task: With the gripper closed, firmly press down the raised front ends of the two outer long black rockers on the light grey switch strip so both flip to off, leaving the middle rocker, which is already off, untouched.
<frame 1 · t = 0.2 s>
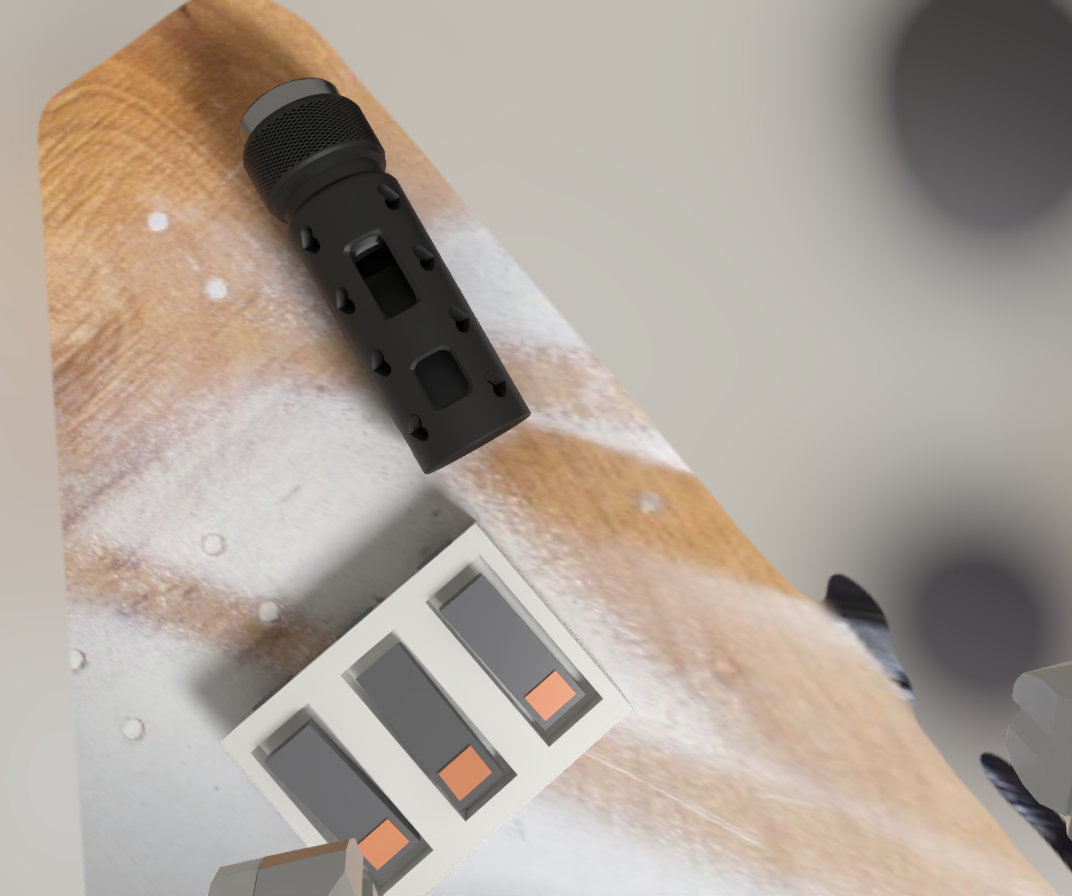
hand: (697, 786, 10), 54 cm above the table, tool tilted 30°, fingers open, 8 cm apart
switch strip: (433, 707, 62), on the table
rocker 1: (513, 651, 58), point 4 cm above the table, hinge at -8.0°
perforated black cylinder: (392, 297, 64), on the table
rocker 2: (344, 799, 57), point 4 cm above the table, hinge at -8.0°
middle rocker: (429, 724, 58), point 4 cm above the table, hinge at 8.0°
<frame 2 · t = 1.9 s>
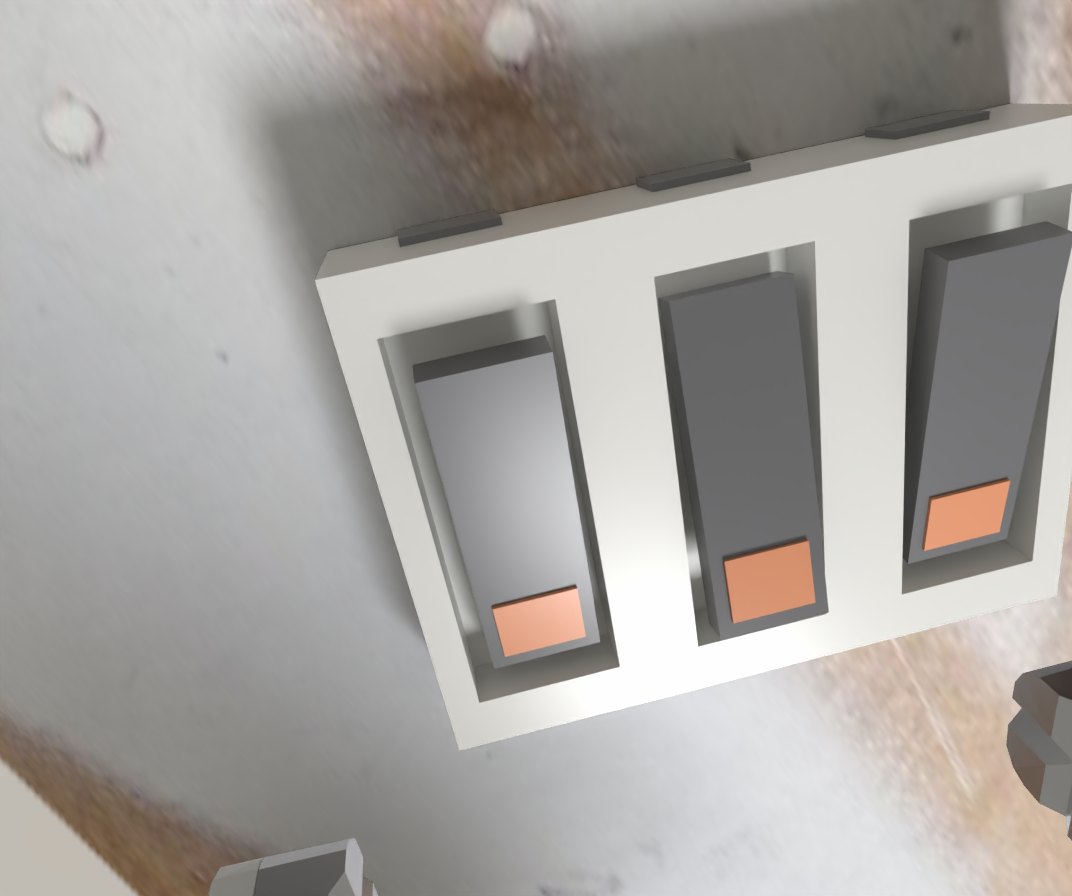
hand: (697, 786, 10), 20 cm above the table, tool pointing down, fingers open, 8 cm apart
switch strip: (703, 416, 31), on the table
rocker 1: (971, 410, 27), point 4 cm above the table, hinge at -8.0°
rocker 2: (517, 520, 26), point 4 cm above the table, hinge at -8.0°
middle rocker: (748, 463, 27), point 4 cm above the table, hinge at 8.0°
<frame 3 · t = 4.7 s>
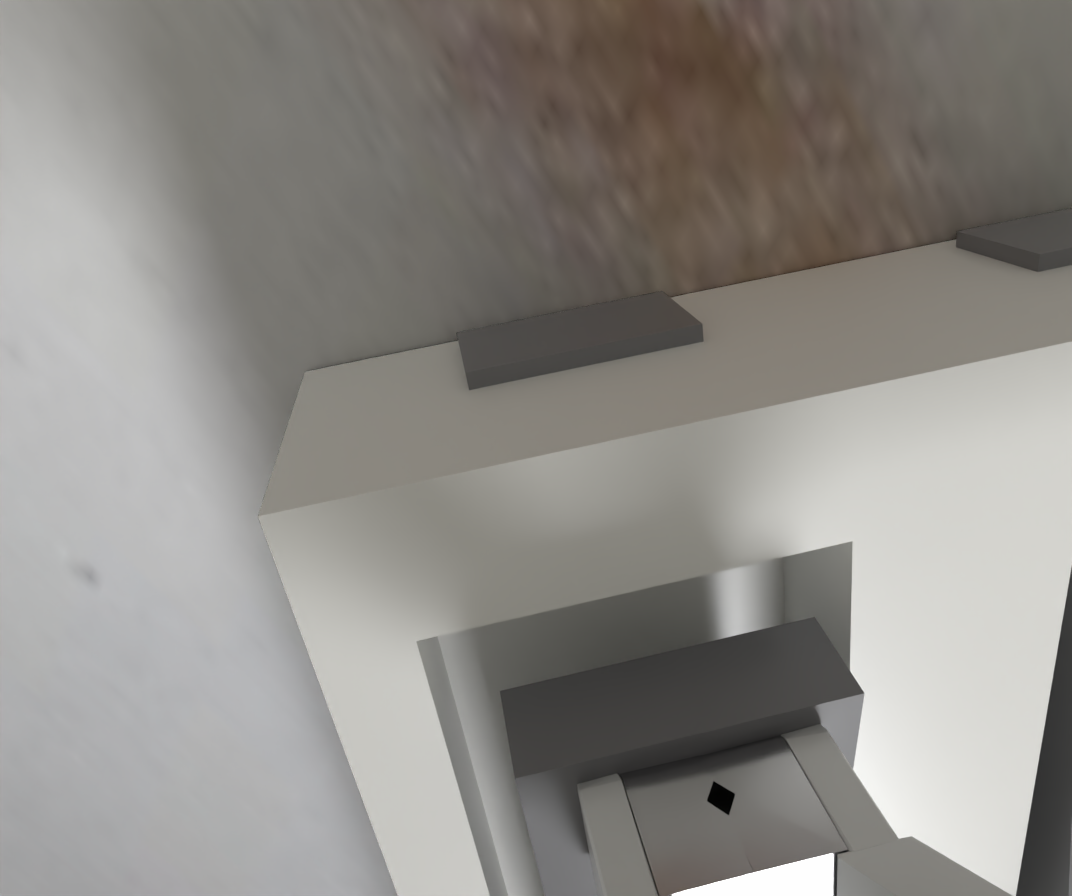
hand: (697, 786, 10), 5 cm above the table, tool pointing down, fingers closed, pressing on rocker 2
switch strip: (982, 647, 17), on the table
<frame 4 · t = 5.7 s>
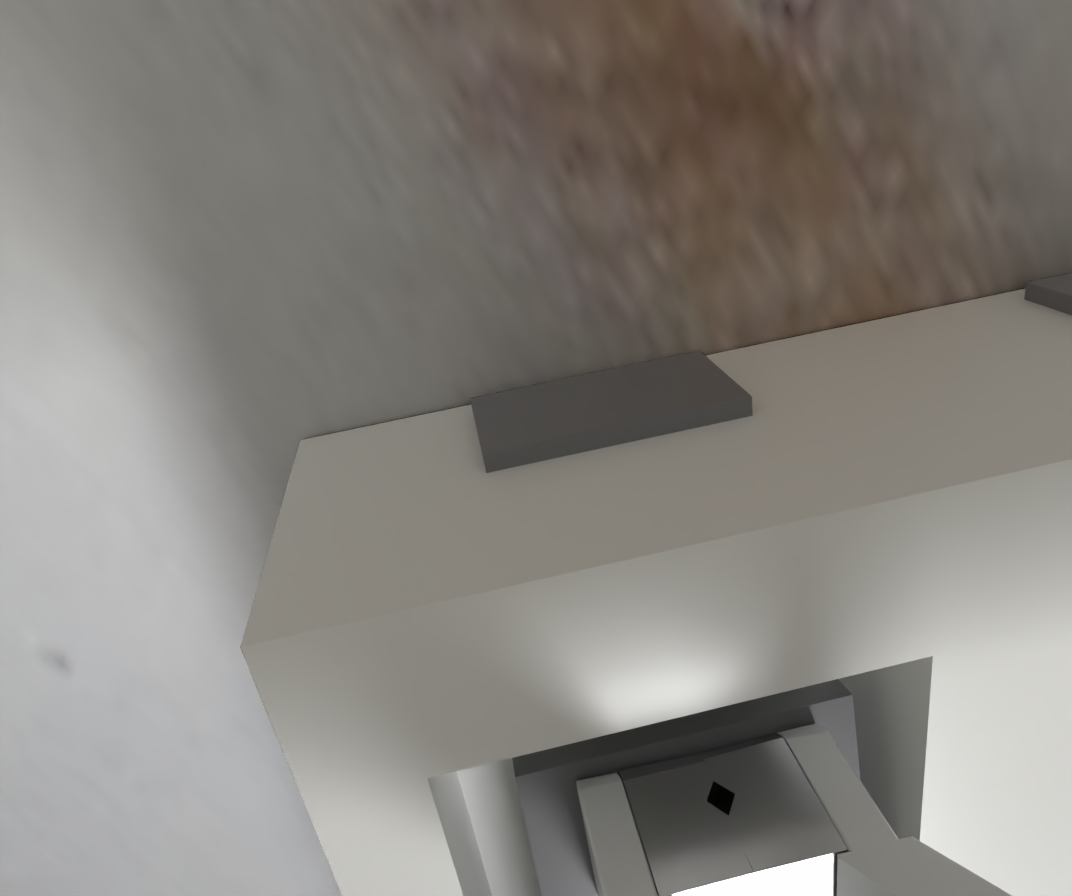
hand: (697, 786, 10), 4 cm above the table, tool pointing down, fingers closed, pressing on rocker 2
switch strip: (1037, 720, 16), on the table
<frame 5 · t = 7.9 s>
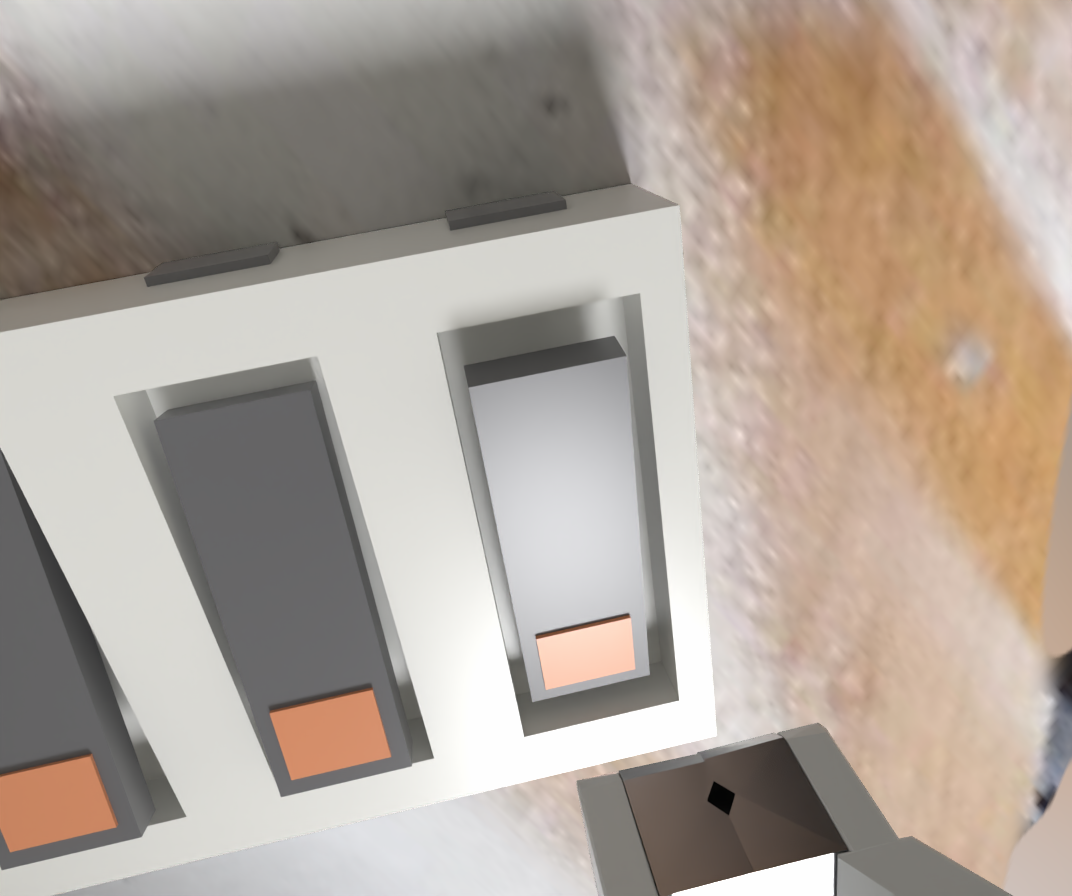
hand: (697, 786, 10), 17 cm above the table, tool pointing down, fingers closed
switch strip: (312, 524, 27), on the table
rocker 1: (569, 541, 23), point 4 cm above the table, hinge at -8.0°
rocker 2: (10, 662, 22), point 4 cm above the table, hinge at 11.5°
middle rocker: (297, 600, 23), point 4 cm above the table, hinge at 8.0°
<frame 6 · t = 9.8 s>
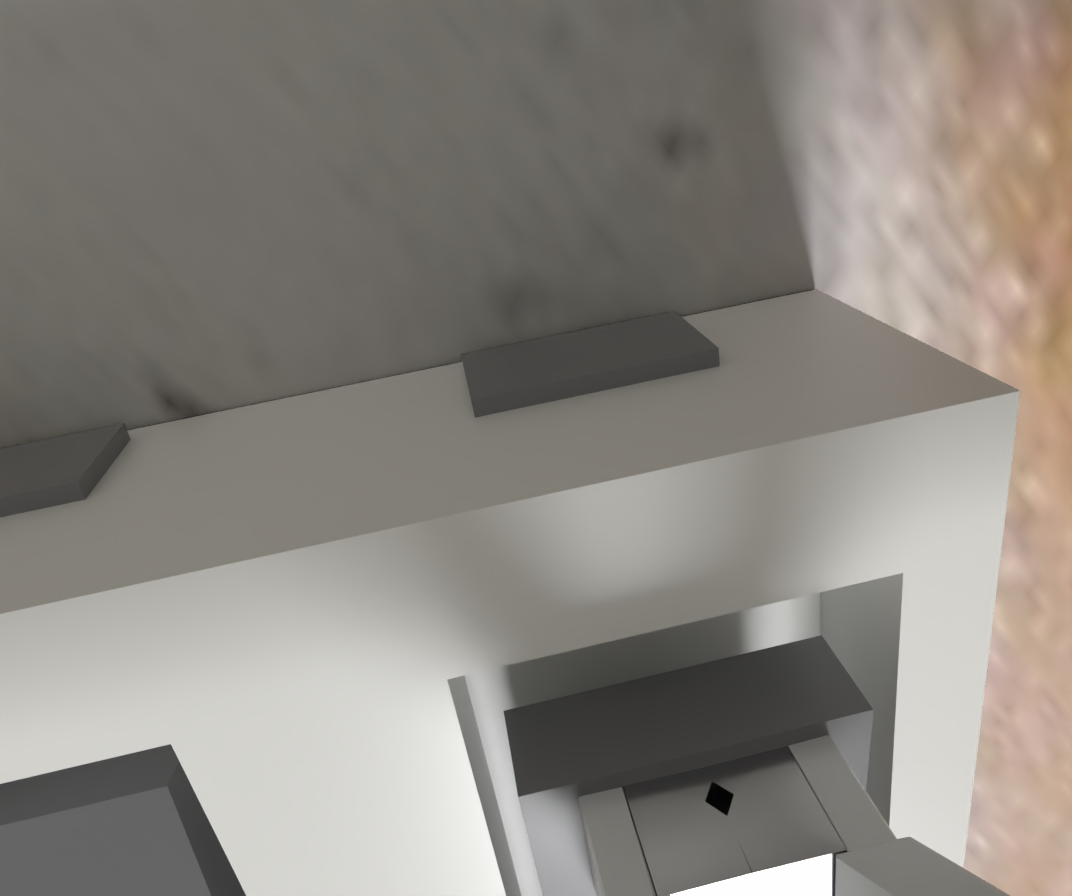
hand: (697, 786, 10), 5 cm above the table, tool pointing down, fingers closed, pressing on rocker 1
switch strip: (230, 861, 15), on the table
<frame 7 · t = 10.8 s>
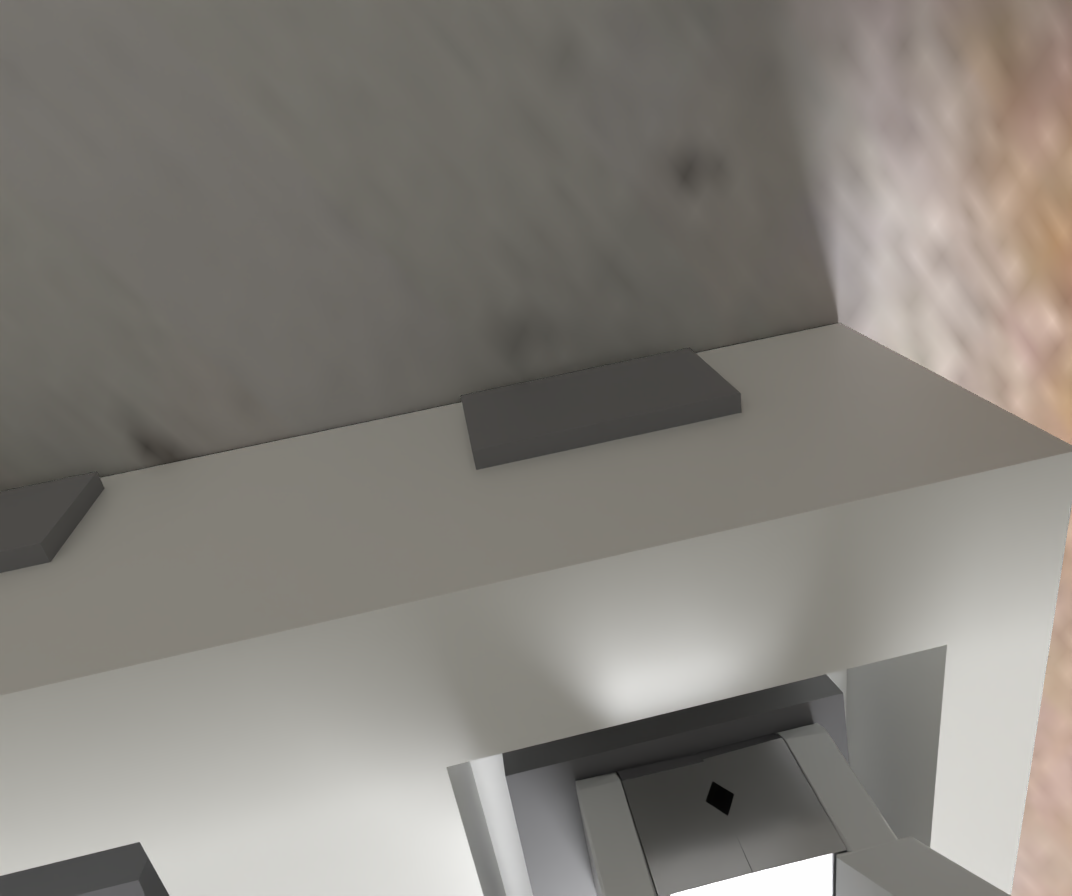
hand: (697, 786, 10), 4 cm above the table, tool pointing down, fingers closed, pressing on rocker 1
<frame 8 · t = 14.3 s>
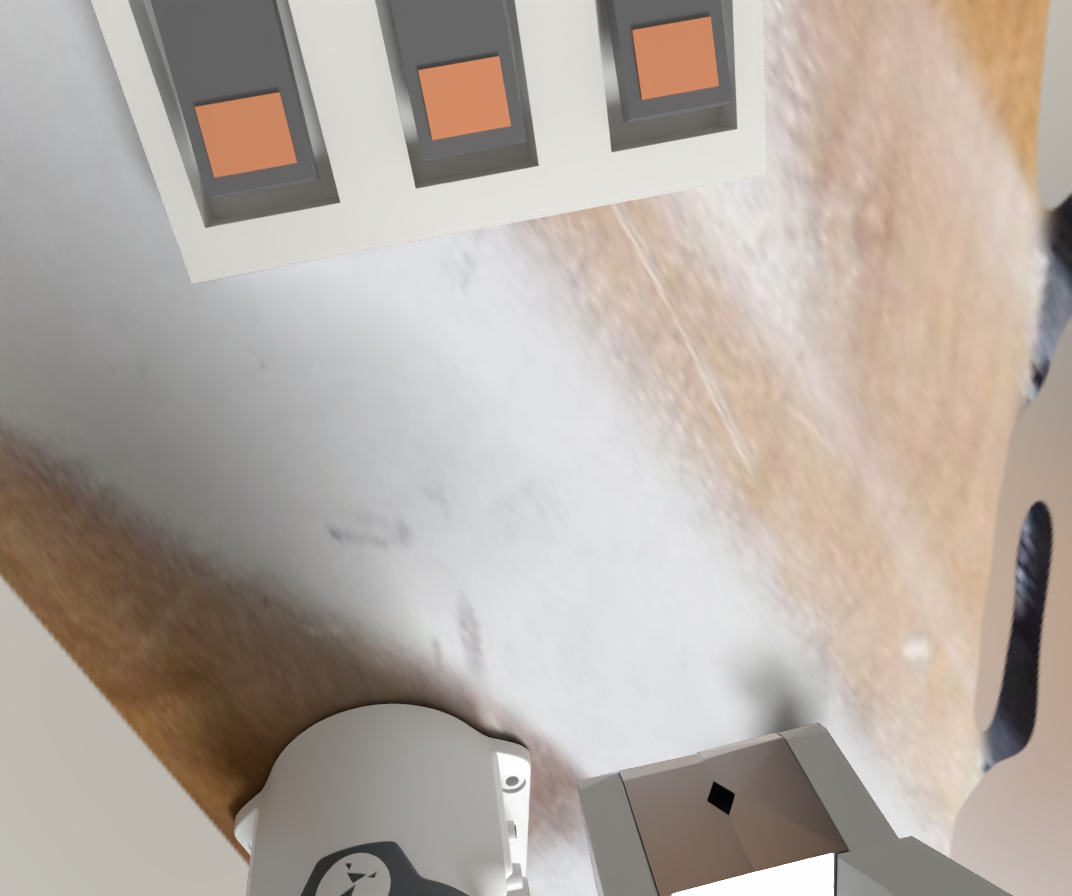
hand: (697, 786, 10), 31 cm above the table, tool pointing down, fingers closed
rocker 2: (218, 12, 28), point 4 cm above the table, hinge at 11.4°
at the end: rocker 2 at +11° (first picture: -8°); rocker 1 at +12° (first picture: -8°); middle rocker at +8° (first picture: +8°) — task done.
